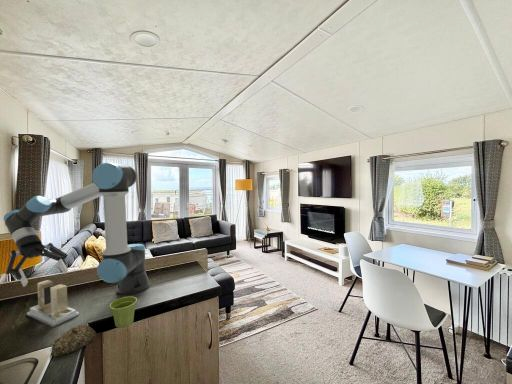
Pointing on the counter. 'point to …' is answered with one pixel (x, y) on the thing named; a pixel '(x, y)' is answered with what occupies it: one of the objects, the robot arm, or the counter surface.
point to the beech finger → (44, 295)
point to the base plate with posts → (55, 308)
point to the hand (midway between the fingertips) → (47, 277)
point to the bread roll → (73, 340)
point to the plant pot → (123, 311)
